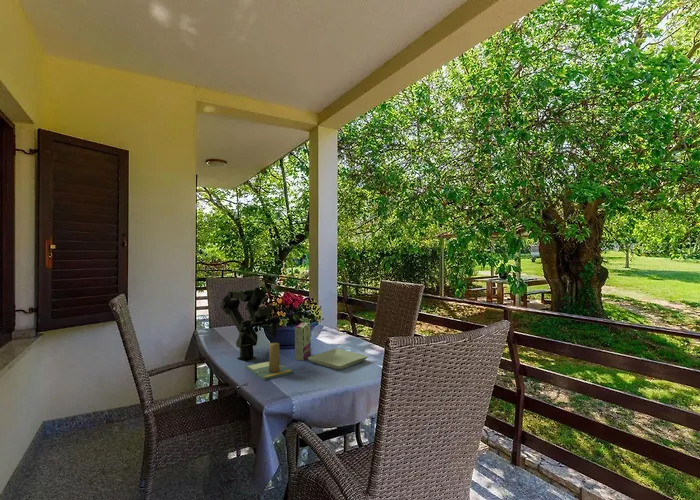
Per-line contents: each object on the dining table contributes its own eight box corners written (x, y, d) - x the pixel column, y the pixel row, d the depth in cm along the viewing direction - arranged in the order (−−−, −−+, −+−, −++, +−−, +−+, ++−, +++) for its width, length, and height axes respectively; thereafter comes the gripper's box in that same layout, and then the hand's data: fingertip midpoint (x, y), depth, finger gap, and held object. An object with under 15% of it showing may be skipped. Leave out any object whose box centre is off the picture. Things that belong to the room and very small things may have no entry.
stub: (256, 375, 163) (256, 345, 163) (285, 368, 172) (285, 340, 172) (264, 380, 158) (264, 349, 158) (293, 373, 167) (293, 343, 166)
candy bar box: (301, 353, 196) (301, 322, 196) (311, 354, 195) (311, 322, 195) (294, 360, 185) (294, 326, 185) (304, 361, 184) (304, 327, 184)
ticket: (244, 368, 173) (244, 365, 173) (272, 362, 182) (272, 360, 182) (256, 375, 164) (256, 372, 164) (285, 369, 172) (285, 366, 172)
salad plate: (335, 354, 197) (335, 347, 197) (368, 362, 184) (368, 355, 184) (306, 364, 181) (306, 356, 181) (340, 373, 168) (340, 366, 168)
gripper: (241, 303, 170) (252, 332, 161) (278, 299, 181) (290, 326, 173) (234, 318, 176) (244, 347, 168) (270, 313, 188) (281, 340, 179)
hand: (265, 339), depth 172 cm, fingers open, 9 cm apart
